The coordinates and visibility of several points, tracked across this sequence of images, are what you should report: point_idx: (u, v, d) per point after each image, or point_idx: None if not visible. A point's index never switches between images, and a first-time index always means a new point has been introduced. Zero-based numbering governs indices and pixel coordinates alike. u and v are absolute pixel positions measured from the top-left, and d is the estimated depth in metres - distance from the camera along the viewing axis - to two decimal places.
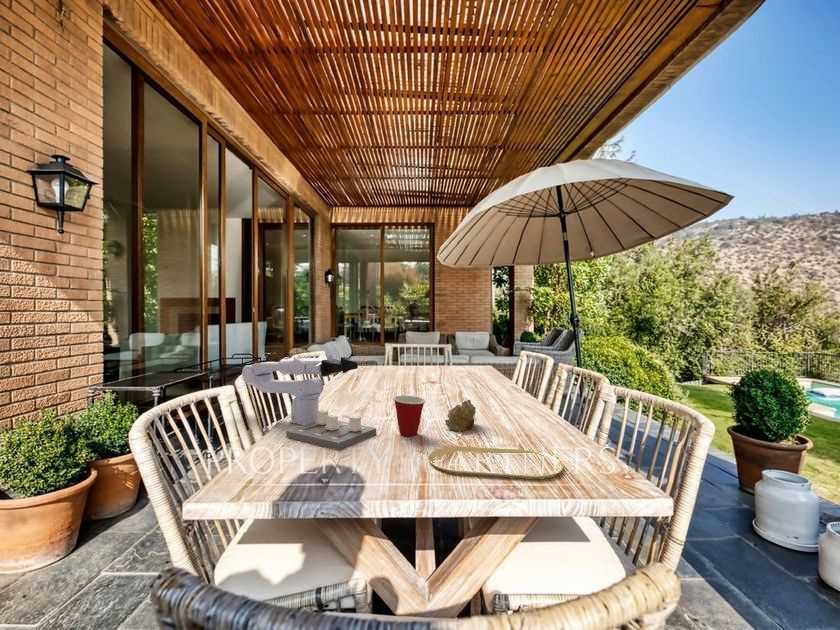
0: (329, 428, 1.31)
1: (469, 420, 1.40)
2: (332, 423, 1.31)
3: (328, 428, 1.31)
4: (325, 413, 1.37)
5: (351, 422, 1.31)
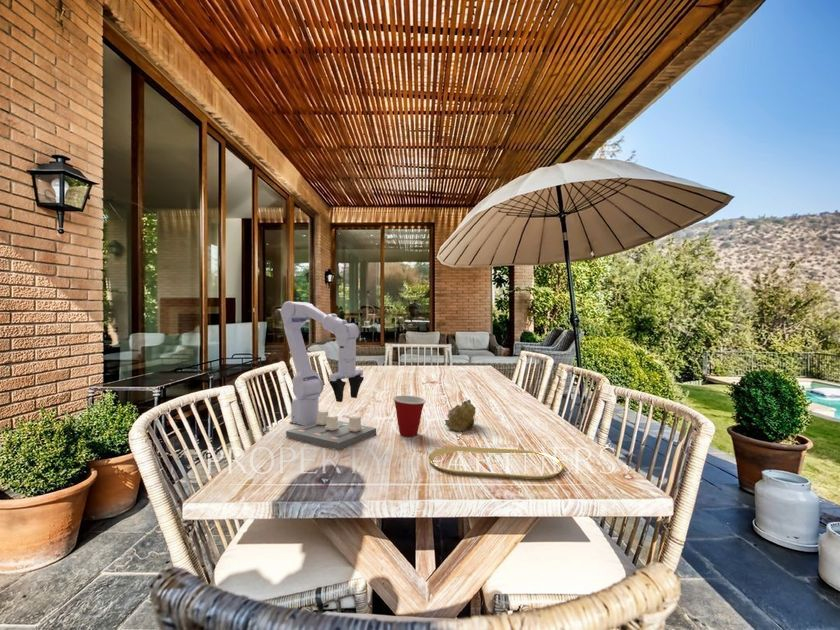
0: (329, 428, 1.31)
1: (469, 420, 1.40)
2: (332, 423, 1.31)
3: (328, 428, 1.31)
4: (325, 413, 1.37)
5: (351, 422, 1.31)
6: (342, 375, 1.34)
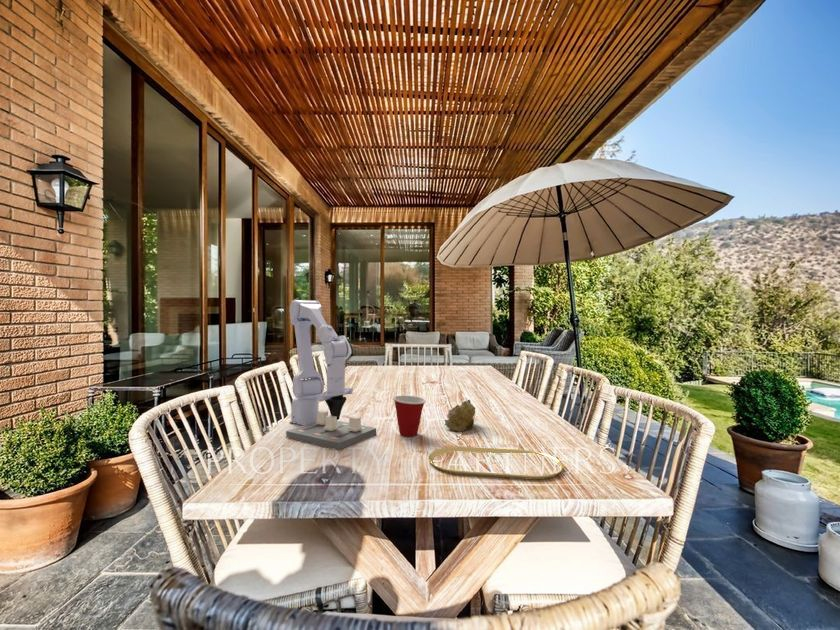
0: (328, 428, 1.30)
1: (469, 420, 1.40)
2: (331, 423, 1.30)
3: (327, 428, 1.30)
4: (325, 413, 1.37)
5: (351, 422, 1.31)
6: (330, 395, 1.29)
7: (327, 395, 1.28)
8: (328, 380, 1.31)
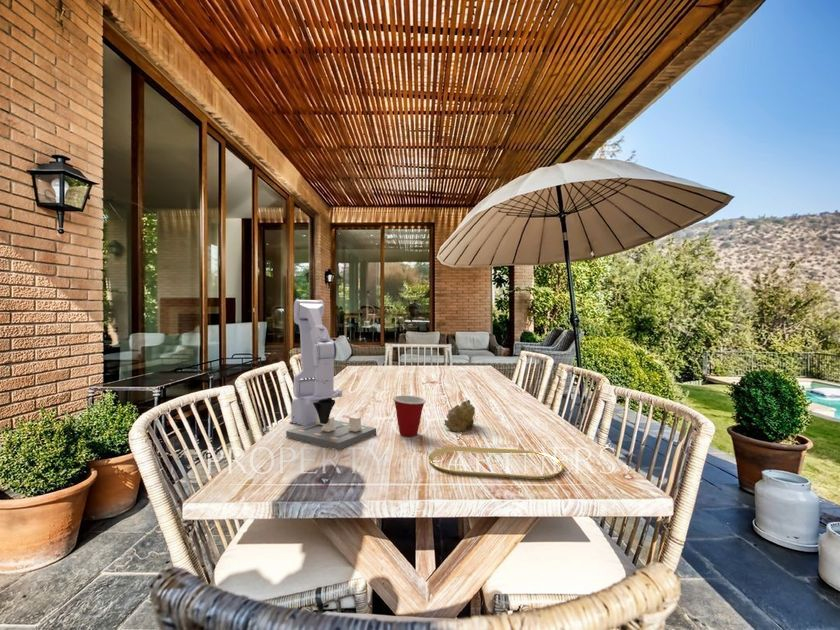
0: (325, 429, 1.29)
1: (469, 420, 1.40)
2: (328, 424, 1.29)
3: (324, 429, 1.29)
4: None
5: (351, 422, 1.31)
6: (318, 398, 1.24)
7: (315, 398, 1.24)
8: (316, 382, 1.27)
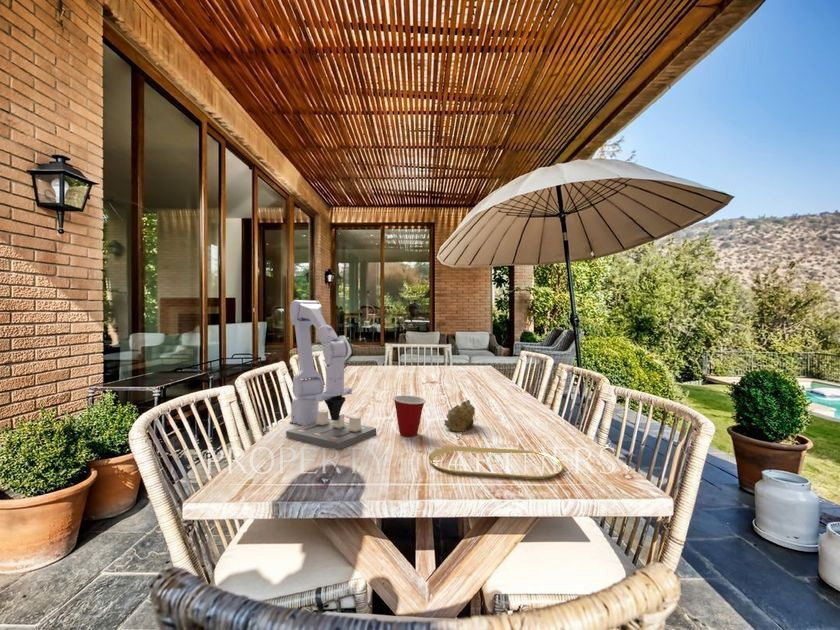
0: (336, 426, 1.33)
1: (469, 421, 1.40)
2: (339, 421, 1.33)
3: (335, 426, 1.33)
4: (325, 413, 1.37)
5: (351, 422, 1.31)
6: (329, 395, 1.29)
7: (326, 395, 1.28)
8: (327, 380, 1.31)
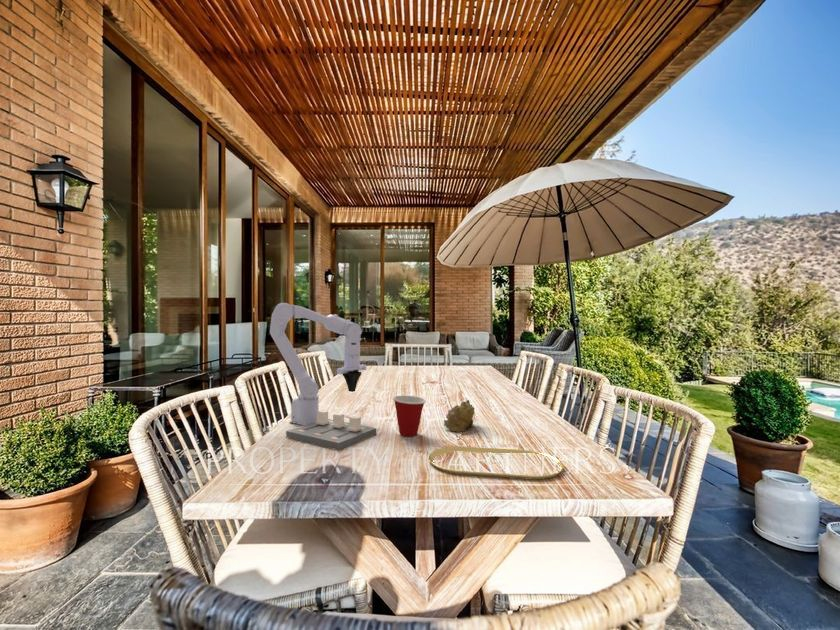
0: (336, 426, 1.33)
1: (468, 421, 1.40)
2: (339, 421, 1.33)
3: (335, 426, 1.33)
4: (325, 413, 1.37)
5: (351, 422, 1.31)
6: (348, 369, 1.48)
7: (345, 369, 1.47)
8: (345, 356, 1.50)
